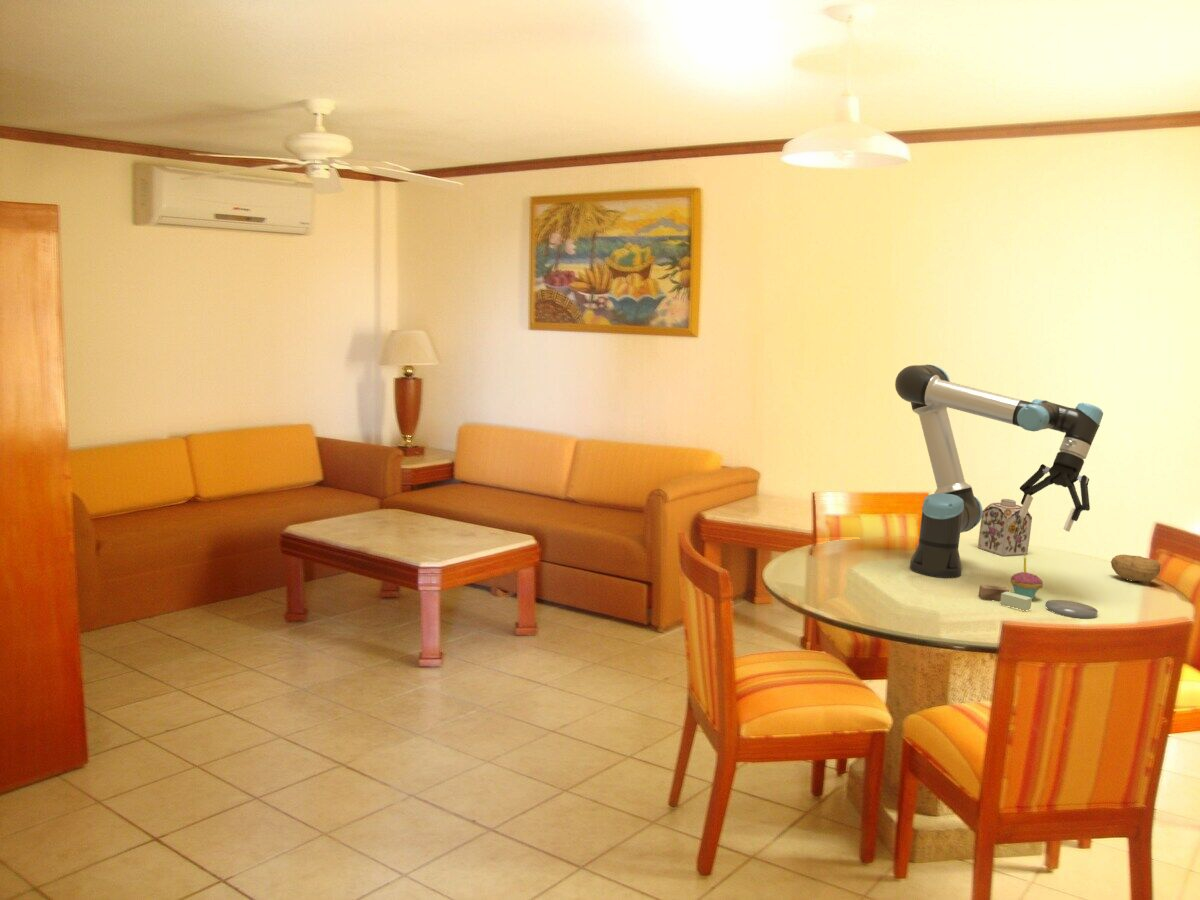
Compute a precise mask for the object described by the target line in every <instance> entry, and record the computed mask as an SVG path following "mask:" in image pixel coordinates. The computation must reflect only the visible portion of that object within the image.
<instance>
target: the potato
mask: <svg viewBox="0 0 1200 900" xmlns="http://www.w3.org/2000/svg"><path fill="white" fill-rule="evenodd" d="M1110 565H1111V568H1112V570H1113V571H1114V572H1115V574H1116V575H1117V576H1119V577H1121V579H1124V580H1126V579H1128V580H1127V581H1129V580H1132V581H1139V582H1138V583H1149V582H1151V581H1153V580H1155V579H1156V578H1157V577H1158V576H1159V575H1160V572H1161V569H1162V568H1161V564H1160V562H1159V561H1157V560H1155V559H1153V558H1148V557H1144V556H1140V555H1131V554H1118V555H1115V556H1114V557H1112V559H1111V561H1110ZM1132 581H1131V582H1132Z"/></svg>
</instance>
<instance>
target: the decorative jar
mask: <svg viewBox="0 0 1200 900" xmlns="http://www.w3.org/2000/svg"><path fill="white" fill-rule="evenodd" d="M1022 506H1023V505H1022ZM1022 506H1021V505H1019V504H1017V501H1016V500H1014V499H1010V498H1001V499H1000V502H991V503H989V504H988V505H987V506H986V507H985V508H984V509H982V518H981V520H980V527H979V533H978V544H977V549H980V550H982V551H986V552H988V553H991V554H995V555H998V556H1001V557H1012V556H1014V557H1015V556H1024V555H1025V556H1027V555H1028V551H1029V544H1030V539H1031V538H1030V537H1031V530H1032V521H1033V517H1032V515H1031V513H1030V512H1029V511H1028V512H1027V514H1026V516H1025V518H1023V517H1021V516H1020V515H1019V513H1020V511H1021V508H1022Z"/></svg>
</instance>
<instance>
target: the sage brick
mask: <svg viewBox="0 0 1200 900" xmlns="http://www.w3.org/2000/svg"><path fill="white" fill-rule="evenodd" d="M1032 601H1033V599H1032V598H1030V597H1027V596H1023V595H1019V594H1015V592H1011V591H1009V592H1004V593H1001V600H1000V601H999V605H1000V604H1001V605H1000V606H1002V605H1005V606H1010V607H1014V608H1018V609H1021V610H1024V611H1025V612H1027V611H1026V610H1028V611H1030V610H1029V609H1031V608H1032ZM1005 606H1004V607H1005ZM1024 611H1023V612H1024Z"/></svg>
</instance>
